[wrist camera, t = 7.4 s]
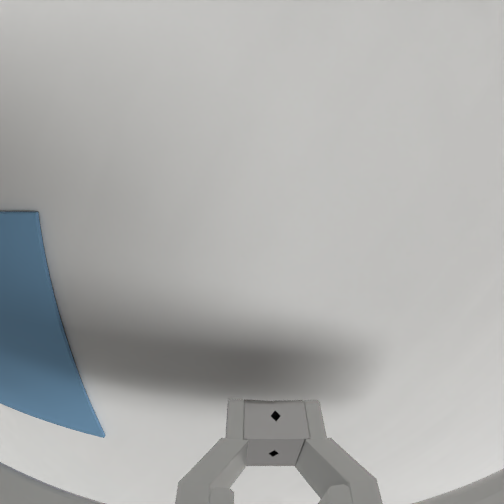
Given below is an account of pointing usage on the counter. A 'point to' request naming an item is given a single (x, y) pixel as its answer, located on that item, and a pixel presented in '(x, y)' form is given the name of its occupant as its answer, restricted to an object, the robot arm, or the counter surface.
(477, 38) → the counter surface
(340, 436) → the counter surface
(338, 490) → the robot arm
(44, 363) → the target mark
